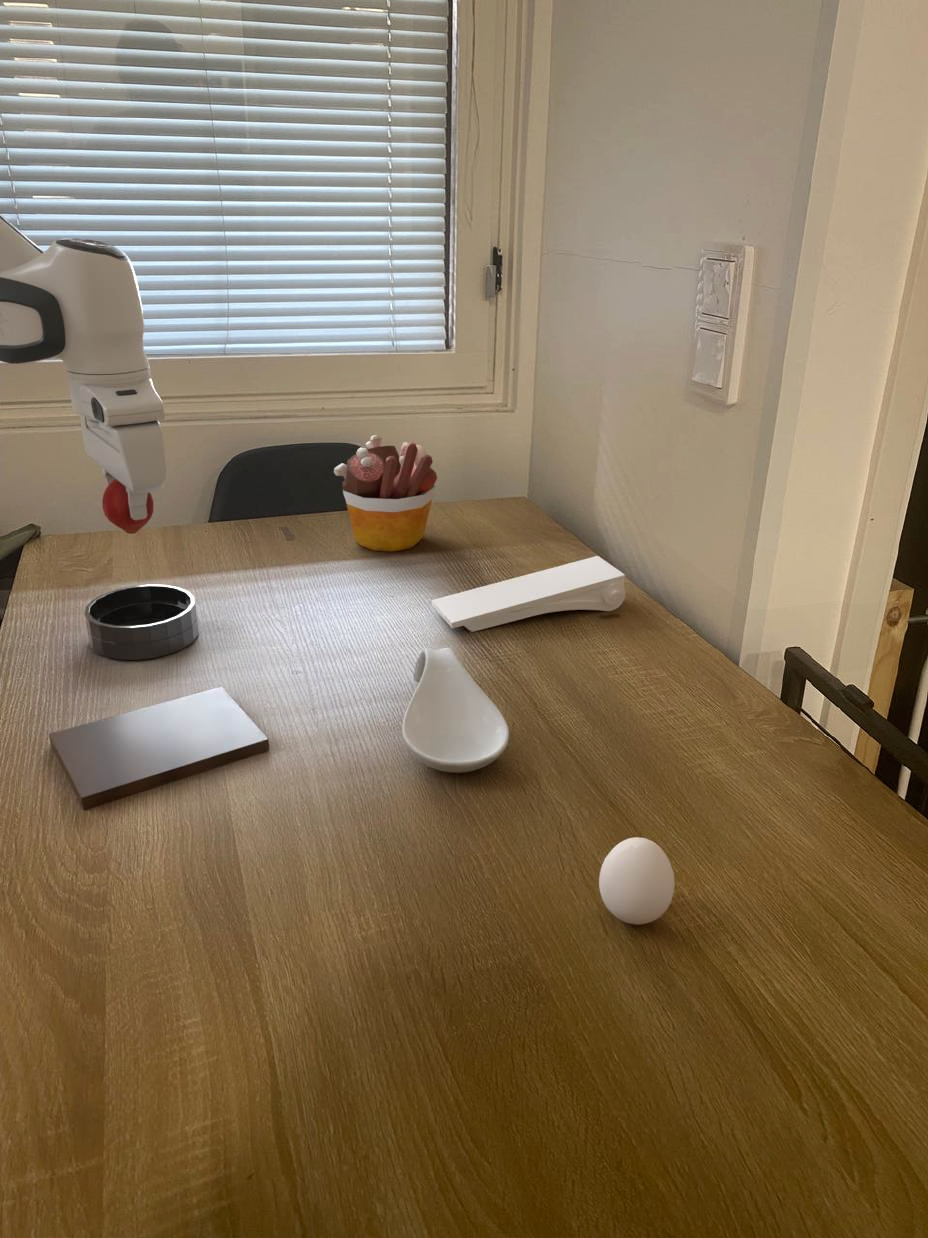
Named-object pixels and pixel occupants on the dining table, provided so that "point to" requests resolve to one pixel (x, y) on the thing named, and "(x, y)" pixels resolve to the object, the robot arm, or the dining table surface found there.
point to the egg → (637, 881)
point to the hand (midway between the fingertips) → (128, 509)
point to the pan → (141, 622)
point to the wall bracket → (536, 595)
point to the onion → (123, 508)
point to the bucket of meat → (388, 494)
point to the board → (155, 745)
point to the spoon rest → (451, 717)
